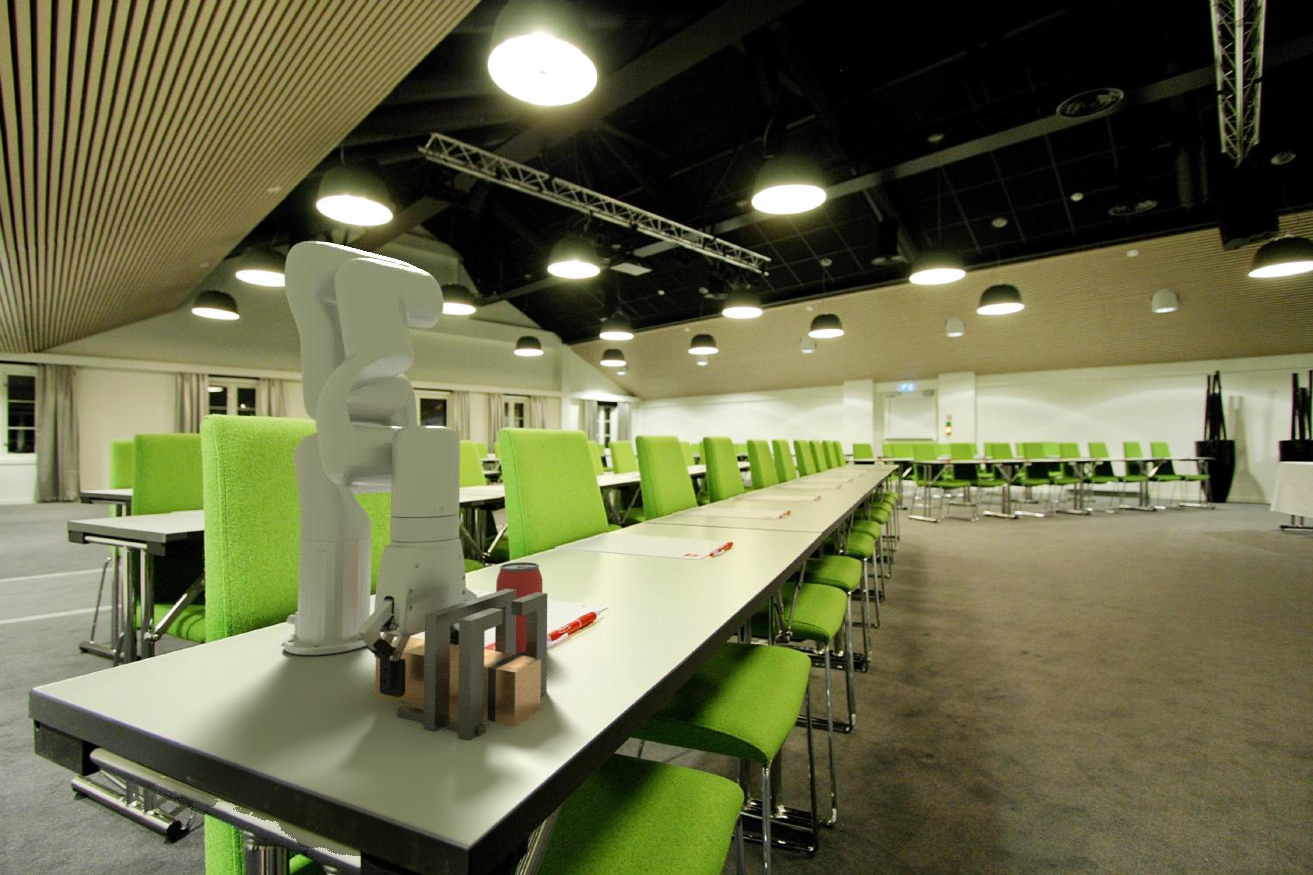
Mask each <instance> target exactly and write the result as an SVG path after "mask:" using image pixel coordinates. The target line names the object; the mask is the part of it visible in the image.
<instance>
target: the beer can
mask: <svg viewBox="0 0 1313 875" xmlns="http://www.w3.org/2000/svg"><path fill="white" fill-rule="evenodd" d="M495 584H496V585H495V586H496V587H495V589H496V590H495V592H498V591H501V590H504V589H513V590H516V599H519V598H521V597H524V596H527V595H530V594H533V593H536V592H540V593H543V577H542V574H541V571H540V564H538V563H537V562H529V561H527V562H526V561H525V562H524V561H518V562H516V561H515V562H509V563H504V564H501V565H500V566H499V572H498V574H497V578H496V583H495ZM526 615H527V614H526ZM526 615H523V616H519V615H516V655H526Z"/></svg>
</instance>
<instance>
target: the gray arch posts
mask: <svg viewBox="0 0 1313 875" xmlns="http://www.w3.org/2000/svg"><path fill="white" fill-rule="evenodd" d="M526 614H527V615H526ZM516 615H519V616H523V615H526V654H525V656H527V657H533V658H539V659H541V697H543V696H544V694H546V693H547V692H548V689H547V687H548V685H547V682H548V681H547V680H548V678H547V676H548V674H547V673H548V670H547V668H548V667H547V666H548V664H547V662H548V593H547V592H542V593H540V592H536V593H533V594H530V595H527V596H524V597H521V598H519V599H516V590H513V589H504V590H501V591H498V592H496V591H494V592H492V593H489V594H486V595H482V596H479V597H477V598H476V599H472V600H469V601H466V602H463V603H460V604H456V605H453V606H450V607H447V608H444V609H441V610H437V611H434V612H431V613H428V614H425V632H424V639H425V652H424V706H423V708H419V707H415V706H410V705H405V704H404V705H402V706H400V707H397V709H396V716H397V717H398V718H402V719H406V720H411V721H415V722H420V723H423V724H422V725H423V728H422V729H423V730H428V731H431V732H436V731H438V730H440V729H442V728H444V729H447V730H452V731H455V732H457V738H460V739H462V740H468V741H470V740H472V739H474V738H475V737H479V736H481V735H483V734H484V733H485V732H486V723H485V722H484V721H485V720H484V649H485V632H486V631H487V630H491V629H493V628H495V633H494V634H495V636H494V637H495V641H494V651H497V652H503V653H509V654H516ZM457 623H459V667H458V713H457V716H453V715H450V712H449V690H450V626H451V625H454V624H457Z"/></svg>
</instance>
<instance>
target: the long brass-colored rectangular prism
mask: <svg viewBox="0 0 1313 875" xmlns="http://www.w3.org/2000/svg"><path fill="white" fill-rule="evenodd" d="M395 641H396V640H393V641H392V643H391V646H392V647H393V646H394V644H395ZM424 652H425V638H418V637H412V636H410V638H409V640H408V643H407V645H406V647H405V649H404V651H403V653H402V656H401V659H405V661H406V672H405V694H404V695H403V696H401V697H399V698H398V697H393V696H389V695H384V694H381V693H380V659H378V658H375V677H374V678H375V680H374V681H375V683H374V684H375V685H374V686H375V687H374V695H375V696H380V697H384V698H388V699H393V700H398V701H401V702H406V703H409V704H415V705H420V706H423V707H424ZM458 667H459V645H455V644H450V690H449V713H454V714H458ZM541 697H542V696H541V659H539V658H533V657H527V656H526V655H523V654H520V655H516V654H509V653H503V652H497V651H495V650H490V649H486V648H484V721H489V722H493V723H498V724H502V725H507V726H512V727H516V726H517V725H519V724H521V723H522V722H523V721H525V720H526V719H528V718H529V717H531V716H533V715H534V714H536V713H537V712H539V711H540V710H541V705H542V702H541V699H542V698H541Z"/></svg>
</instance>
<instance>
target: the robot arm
mask: <svg viewBox="0 0 1313 875" xmlns="http://www.w3.org/2000/svg"><path fill="white" fill-rule="evenodd" d="M438 282H439V281H437V279H436V278H435V277H434V275H432V274H431V273H429V272H427V271H425V270H423V269H420V268H417V267H416V266H413V265H411V264H409V263H407V262H404V261H401V260H398V259H395V258H391V257H387V256H384V255H383V256H382V255H379V254H375V253H372V252H367V251H363V250H360V249H357V248H352V247H349V246H344V245H339V244H336V243H332V242H324V241H317V240H315V241H314V240H312V241H311V240H308V241H301V242H299V243H296V244H295V245H293V246H292V247H291V249H290V250H289V252H288V254H287V256H286V260H285V264H284V288H285V295H286V299H287V303H288V307H289V308H290V311H291V314H292V316H293V319H294V321H295V324H296V328H297V331H298V334H299V341H300V342H299V343H300V359H301V362H300V363H301V380H302V381H301V382H302V383H301V385H302V397H303V406H304V410H305V412H306V414H307V415H308V417H309V418H310V419H312V420H313V421H315V428H316V432H315V433H312V434H308V435H307V436H304V437H303V438H302V439H301V440H300V441H299V442H298V444H297V445H296V447H295V449H294V453H293V469H294V474H295V480H296V487H297V495H298V505H299V506H298V508H299V509H298V510H299V533H298V534H299V539H298V540H299V543H298V544H299V546H298V547H299V549H298V552H299V553H298V589H297V590H298V591H297V592H298V593H297V594H298V595H297V611H295V613H294V614H290V615H289V616H287V618H286V623H287V624H288V625H294V634H292V635H290V636H288V637H287V638H286V639H285V640H284V642H283V644H284V645H283V646H284V651H286V652H287V653H290V654H293V655H299V656H320V655H322V656H324V655H331V654H339V653H344V652H349V651H353V650H358V649H360V648H364V647H366V649H367V650H369V651H370V652H371V653H372V654H373V656H374V658H375V659H376V658H378V659H380V693H381V694H384V695H389V696H393V697H398V698H399V697H401V696H403V695H404V694H405V672H406V661H405V659H401V656H402V653H403V651H404V649H405V647H406V645H407V643H408V640H409V638H410V637H412V636H415V635H420V634H422V633H423V632H424V633H425V614H428V613H431V612H434V611H437V610H441V609H444V608H447V607H450V606H453V605H456V604H460V603H463V602H466V601H469V600H472V599H476V598H478V595H477V594H476V593H474V592H473V591H471V590H470V589H469V588H466V587H467V586H466V585H467V584H466V568H465V567H466V566H465V557H464V556H465V555H464V550H463V546H462V539H461V538H460V527H461V525H462V521H461V518H460V495H461V494H460V493H461V492H460V487H461V486H460V484H461V483H460V481H461V476H460V474H461V473H460V471H461V468H460V467H461V438H460V435H459V432H458V431H457V430H455V428H452V427H451V426H450V427H448V426H441V425H418V424H419V423H418V414H417V410H418V409H417V402H416V401H417V400H416V394H415V390H414V386H413V384H412V383H411V381H410V379H409V378H408V377H407V376H406V375H405V374H404V373H405V372H407V371H408V370H409V369H410V368H411V367H412V366H413V364H414V361H415V350H414V346H413V340H412V336H411V332H410V327H412V328H417V329H426V330H427V329H431V328H433V327H435V326H436V324H437V323H439V321H440V319H441V318H442V314H443V311H444V296H443V295H444V294H443V292H442V291H443V290H442V288H441V286H440V284H439V283H438ZM377 493H379V494H380V493H381V494H382V493H383V494H384V493H391V494H390V495H391V496H390V544H386V545H384V548H383V551H382V553H381V554H382V555H381V557H380V562H379V568H378V572H377V580H376V585H375V586H376V588H375V595H374V596H375V597H374V611H373V613H372V614H371V586H372V585H371V584H372V583H371V581H372V578H371V575H372V574H371V573H372V571H371V570H372V521H371V519H370V516H369V515H368V514H369V513H368V512H367V511H366V510H365V508H364V507H363V506H362V505H361V504H360V503H359V501H358V500H357V498H356V497H355V495H363V494H377ZM382 633H383V634H382ZM395 638H396V641H395V640H394V639H395ZM392 641H395V644H394V646H393V647H392V646H391V643H392ZM450 644H455V645H459V623H457V624H454V625H451V626H450Z"/></svg>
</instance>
